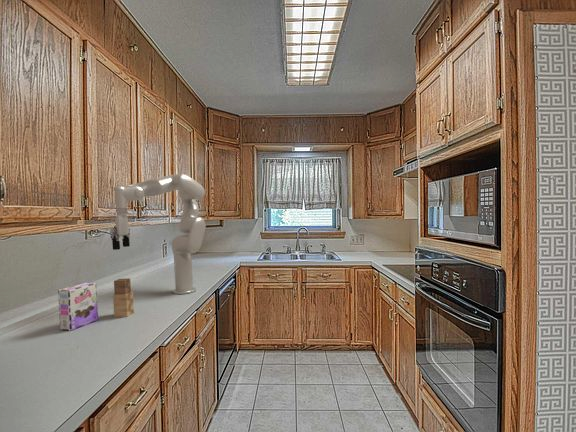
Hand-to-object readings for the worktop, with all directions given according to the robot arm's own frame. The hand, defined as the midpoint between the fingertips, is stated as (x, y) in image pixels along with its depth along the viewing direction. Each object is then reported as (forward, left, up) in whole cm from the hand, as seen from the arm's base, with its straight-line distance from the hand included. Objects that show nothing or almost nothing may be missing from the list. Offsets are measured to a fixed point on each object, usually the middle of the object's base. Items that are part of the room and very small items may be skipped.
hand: (121, 248), depth 176 cm
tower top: (+11, +5, -24) cm, 27 cm away
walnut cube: (+11, +5, -19) cm, 23 cm away
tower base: (+11, +5, -29) cm, 31 cm away
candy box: (+24, -7, -29) cm, 38 cm away
